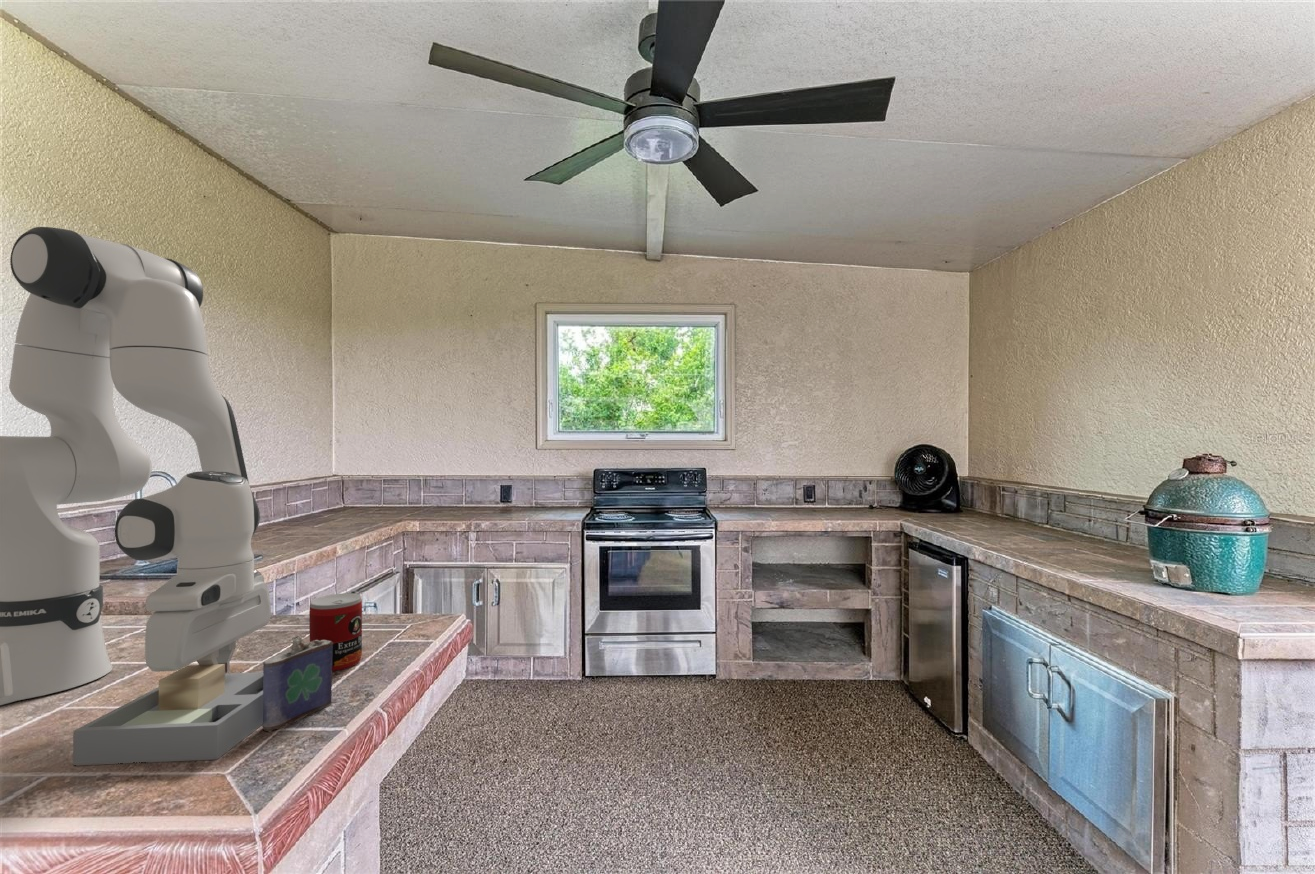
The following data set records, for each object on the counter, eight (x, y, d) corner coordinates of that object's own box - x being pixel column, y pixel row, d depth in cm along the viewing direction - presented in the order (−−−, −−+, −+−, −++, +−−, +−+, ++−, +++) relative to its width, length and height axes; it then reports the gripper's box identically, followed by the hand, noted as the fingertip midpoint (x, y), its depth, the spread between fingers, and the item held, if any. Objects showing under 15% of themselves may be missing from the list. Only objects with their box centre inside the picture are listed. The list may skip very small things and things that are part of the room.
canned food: (339, 674, 89) (339, 606, 89) (297, 671, 91) (297, 604, 91) (372, 656, 97) (372, 594, 97) (333, 653, 98) (333, 592, 98)
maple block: (158, 710, 73) (158, 680, 73) (187, 693, 78) (187, 665, 78) (198, 708, 73) (198, 678, 73) (224, 692, 78) (225, 664, 78)
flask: (270, 734, 71) (270, 650, 71) (255, 729, 72) (256, 647, 72) (336, 703, 79) (336, 628, 79) (322, 699, 80) (323, 625, 81)
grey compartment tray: (73, 765, 64) (73, 731, 64) (208, 687, 85) (208, 661, 85) (217, 759, 65) (217, 725, 65) (316, 683, 86) (316, 657, 86)
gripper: (242, 567, 90) (241, 652, 90) (133, 602, 70) (133, 711, 70) (282, 566, 91) (282, 650, 91) (186, 600, 71) (185, 709, 70)
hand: (216, 677), depth 80 cm, fingers closed
